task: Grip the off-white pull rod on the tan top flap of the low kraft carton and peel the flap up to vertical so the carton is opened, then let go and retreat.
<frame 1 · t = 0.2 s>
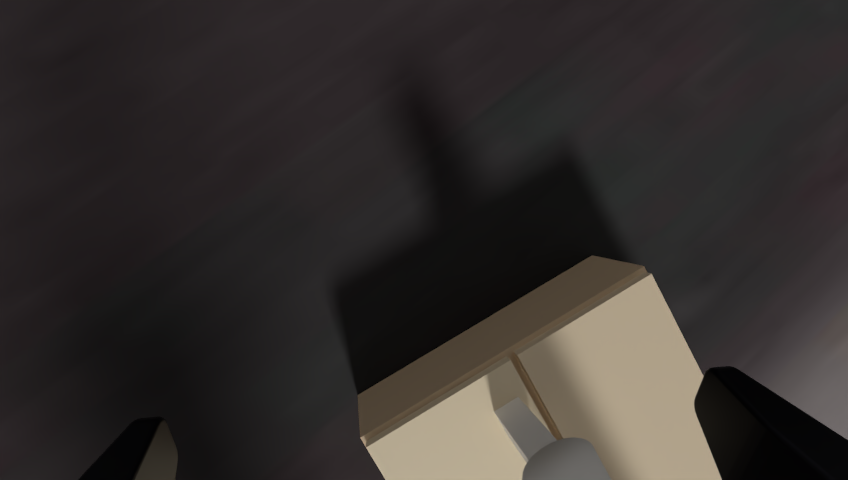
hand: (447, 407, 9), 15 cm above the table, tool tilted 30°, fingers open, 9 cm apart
carton: (550, 454, 25), on the table
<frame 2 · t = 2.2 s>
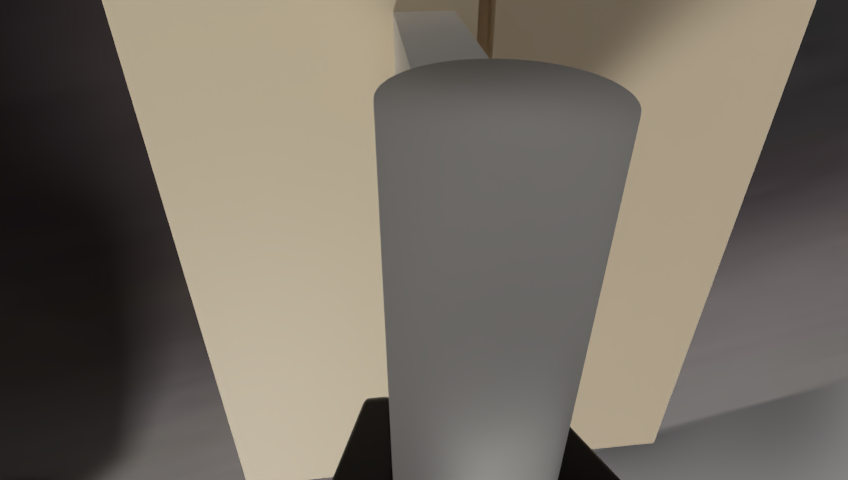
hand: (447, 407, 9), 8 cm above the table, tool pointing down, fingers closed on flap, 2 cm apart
carton: (438, 173, 16), on the table
flap: (329, 394, 9), point 8 cm above the table, hinge at 0.0°, touching gripper
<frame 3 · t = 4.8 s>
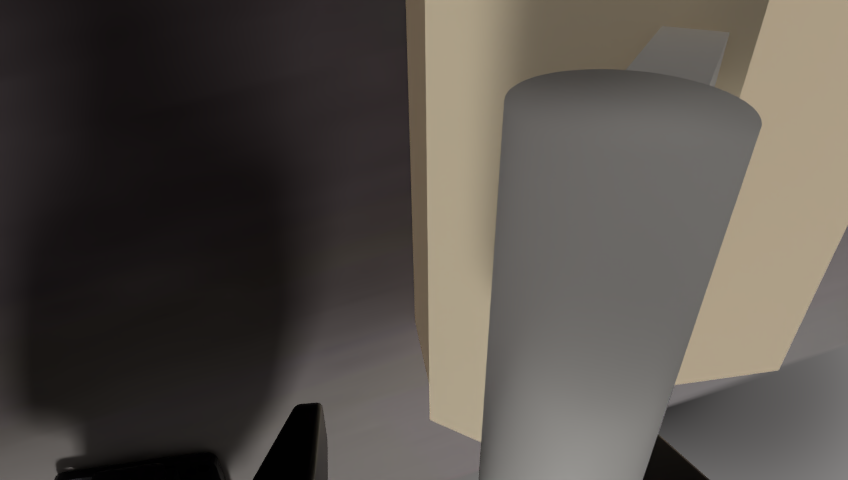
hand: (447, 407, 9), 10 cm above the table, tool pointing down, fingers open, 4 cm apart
carton: (587, 142, 19), on the table
flap: (489, 356, 11), point 9 cm above the table, hinge at 38.2°, touching gripper
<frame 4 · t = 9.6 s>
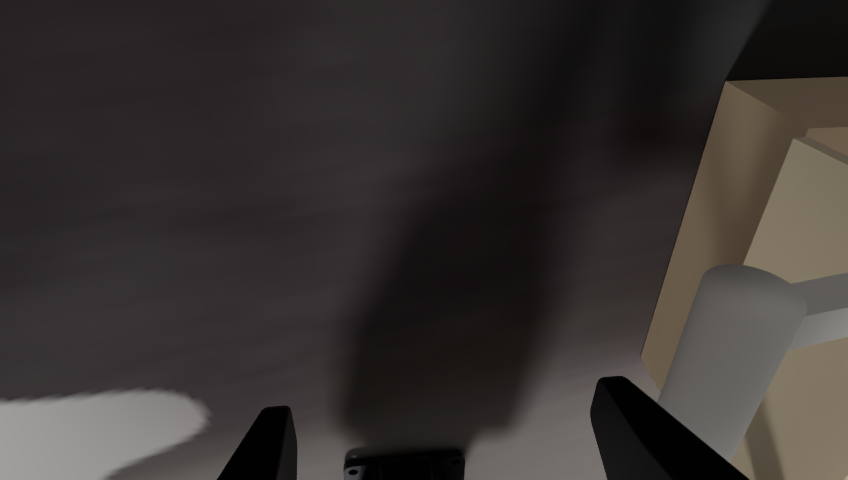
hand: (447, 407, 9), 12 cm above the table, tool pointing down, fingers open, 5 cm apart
carton: (805, 233, 25), on the table
flap: (708, 391, 17), point 8 cm above the table, hinge at 81.1°
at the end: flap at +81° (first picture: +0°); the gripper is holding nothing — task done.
